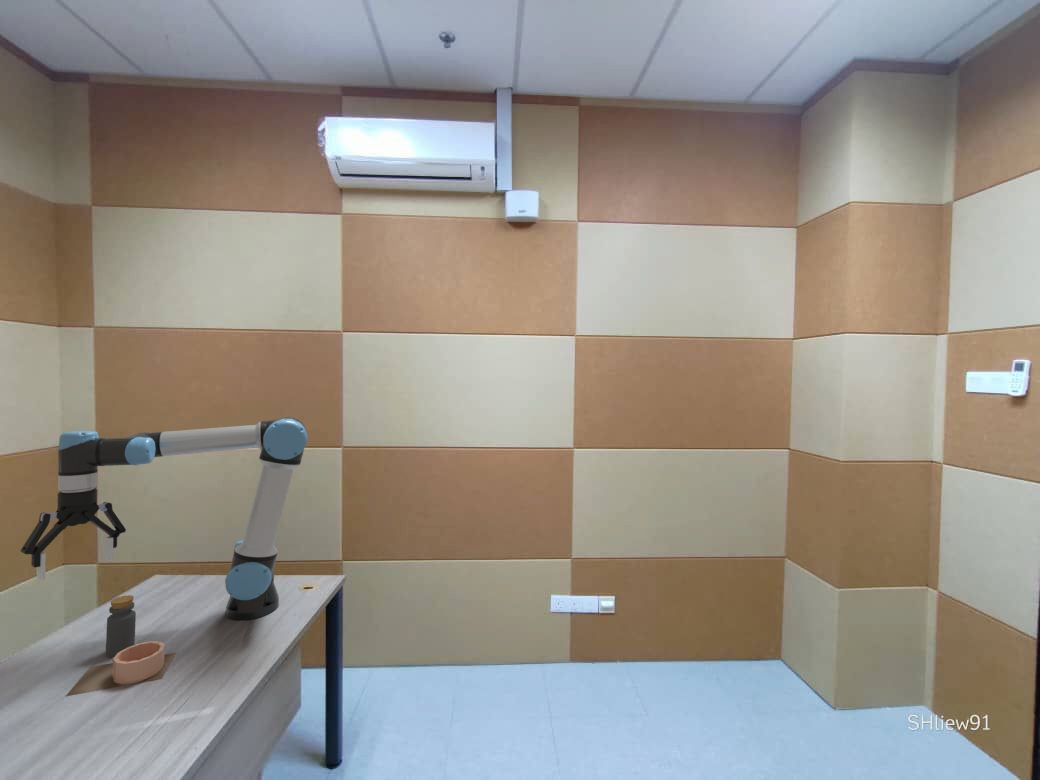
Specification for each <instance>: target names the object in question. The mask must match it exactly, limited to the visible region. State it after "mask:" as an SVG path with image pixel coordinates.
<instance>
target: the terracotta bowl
mask: <svg viewBox="0 0 1040 780" xmlns="http://www.w3.org/2000/svg"><path fill="white" fill-rule="evenodd" d="M165 652H166V645H165V644H164V643H163V642H162V641H156V640H152V641H145V642H140V643H137V644H135V645H133V646H130V647H127V648H126V649H124V650H122V651H120V652H119V653H117V654H116V656H115V657H112V663H113V675H112V677H113V681H114V683H116V684H120V685H126V686H128V685H127V684H131V685H134V684H133V683H137V682H141V681H144V680H146V679H148V678H151V677H152V676H154V675H156V674H157V673H159V672H160V671H161V670H162V668H163V664H164V658H165V654H166V653H165ZM137 684H138V683H137Z"/></svg>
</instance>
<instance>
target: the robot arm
mask: <svg viewBox="0 0 1040 780" xmlns="http://www.w3.org/2000/svg"><path fill="white" fill-rule="evenodd" d="M308 438H309V437H308V431H307V428H306V426H305V425H304V423H303V422H302V421H301V420H299V419H297V418H295V417H289V416H287V417H282V418H276V419H272V420H261V421H259V422H258V423H257V424H249V425H248V424H247V425H234V426H223V427H222V426H221V427H212V428H211V427H208V428H198V429H196V428H195V429H184V430H171V431H170V430H169V431H168V430H167V431H162V432H161V431H158V432H149V431H146V432H138V433H137V434H136V433H135V434H134V435H130V436H126V437H114V438H112V437H111V438H103V437H100V436H99V432H98V431H95V430H78V431H76V430H75V431H74V430H73V431H66V432H63V433H61V434H60V436H59V438H58V440H59V441H58V449H57V451H58V452H57V455H58V457H57V459H58V461H57V462H58V468H57V469H58V473H57V490H58V491H59V492H58V493H57V509H56V511H55V512H44V511H43V512H41V513H40V514H39V517H38V522H37V524H36V525H35V527H34V529H33V530H32V531H31V533H30V534H29V536H28V538H27V539H26V541H25V543H24V544H23V546H22V547H21V549H20V552H21V554H24V555H31V559H30V560H31V564H30V565H31V566H32V568H36V579H38V580H40V581H43V580H46V563H47V562H46V559H47V558H46V557H47V553H45V552H44V551H45V549H46V548H48V546H50V544H51V543H52V542H53V541H54V540H55V539H56V538H57V537H58V536H59V535H60V534H61V532H63V530H65V529H67V527H75V526H78V525H85V524H87V523H89V522H90V523H91V524H93V525H95V526H96V527H97V528H98V529H100V530H102V532H104V533H106V535H108V536H105V537H104V561H105V562H109V563H110V562H113V561H114V549H116V548H117V547H118V537H120V534H124V533H125V532H127V529H126V528H125V526H124V525H123V523H122V521H121V520H120V519H119V517H118V516H117V514H116V513H115V511H114V510H113V504H112V502H107V501H104V502H102V503H100V504H98V489H97V488H96V487H97V486H98V467H109V466H110V467H111V466H140V465H146V464H151V463H152V462H153V460H154V459H155V458H161V457H168V456H169V457H170V456H180V455H189V454H190V455H191V454H201V453H203V454H204V453H212V452H213V453H215V452H223V451H224V452H225V451H236V450H245V449H256V448H257V449H258V450H260V454H259V457H258V460H259V461H260V463H261V464H262V468H261V472H260V475H259V480H258V482H257V487H256V490H255V494H254V497H253V502H252V505H251V509H250V513H249V517H248V521H247V524H246V528H245V532H244V536H243V539H241V540H238V541H237V542H235V544H234V549H233V555H232V559H231V564H230V566H229V571H228V573H227V574H226V576H225V578H224V579H225V581H224V583H225V584H224V585H225V586H224V587H225V590H226V592H227V594H229V598H228V601H227V603H226V607H225V616H226V617H227V618H228V619H231V620H234V621H235V620H237V621H243V620H244V621H245V620H252V619H257V618H260V617H264V616H266V615H268V613H269V614H271V613H272V612H274V611H275V610H277V608H278V607H279V605H280V597H279V594H278V590H277V587H276V586H275V564H276V559H277V556H278V552H279V551H278V548H277V547H276V546H277V545H276V540H277V539H276V538H277V534H278V531H279V527H280V525H281V524H280V523H281V520H282V515H283V512H284V508H285V505H286V499H287V496H288V492H289V489H290V485H291V480H292V476H293V472H294V470H295V469H296V468H298V467H299V466H300V465H301V462H302V460H303V459H302V458H303V456H304V451H305V448H306V446H307V443H308ZM99 510H100V511H101V512H103V513H104V515H105V517H107V519H108V521H109V522H110V523H111V524H112V526H113V528H114V529H113V528H112V527H110V526H109V525H108V524H106V523H105V522H104V521H102V520H101V519H100V518H99V517H97V516H96V514H97V513H98V511H99ZM54 518H56V519H57V521H56V522H55V524H53V527H52V528H51V529H49V531H48V532H47V533H46V534H45V535H44V536H43V534H44V533H45V531H46V529H47V528H48V526H49V524H50V522H52V521H53V520H54ZM42 536H43V537H42ZM273 610H274V611H273ZM270 612H271V613H270ZM263 615H264V616H263Z"/></svg>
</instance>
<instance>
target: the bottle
mask: <svg viewBox="0 0 1040 780" xmlns="http://www.w3.org/2000/svg"><path fill="white" fill-rule="evenodd" d="M134 598H135V597H134V596H133V595H129V594H128V595H123V596H118V597H115V598H113V599H112V600H111V601H110V605H111V606H110V607H109V608H108V609H109V613H110V615H108V617H107V619H106V633H105V634H106V637H105V656H106V657H107V658H114V657H115V656H116V654H117V653H119V652H120V651H122V650H124V649H126V648H127V647H130V646H133V645H136V644H135V640H136V621H137V620H136V616H137V615H136V614H137V612H136V611H135V610H133V609H134V608H135V602H134Z"/></svg>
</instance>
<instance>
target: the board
mask: <svg viewBox="0 0 1040 780" xmlns="http://www.w3.org/2000/svg"><path fill="white" fill-rule="evenodd" d="M176 655H177V652H172V653H165V658H164V664H163V668H162V670H161V671H160V672H159V673H157V674H156V675H154V676H152V677H151V678H148V679H146V680H144V681H141V682H137V683H133V684H127V685H120V684H116V683H114V681H113V677H112V675H113V662H110V663H105V664H98V665H93V666H90V667H89V668H88V669H87V670H86V672H84V673H83V675H82V676H81V677H80V678H79V679H78V681H77V682H76V683H75V684H74V686H72V688H71V689H70V690H69V691H68V692H67V694H65V697H69V696H71V697H72V696H74V695H81V694H82V695H83V694H86V693H92V692H93V693H94V692H98V691H103V690H108V689H113V688H120V687H125V686H131V685H136V684H141V683H146V682H153V681H157V680H162V679H163V678H164V676H165V673H166V672H167V671H168V669H169V667H170V665H171V663H172V662H173V660H174V658H175V656H176Z"/></svg>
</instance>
